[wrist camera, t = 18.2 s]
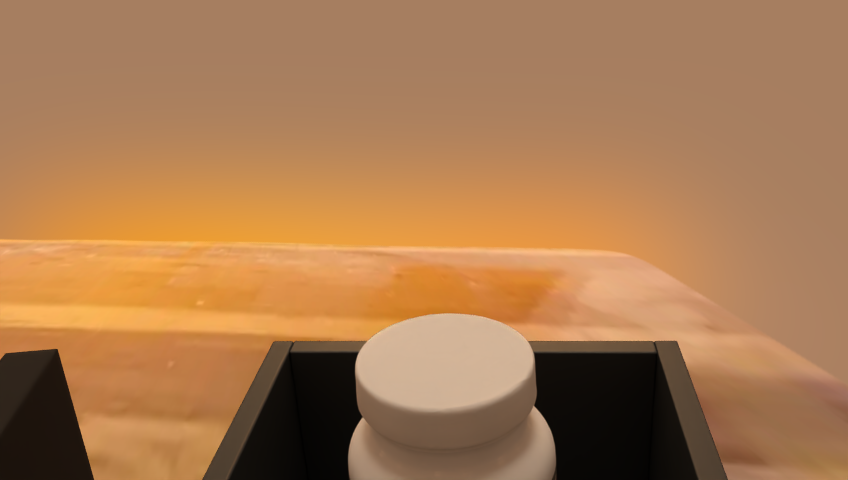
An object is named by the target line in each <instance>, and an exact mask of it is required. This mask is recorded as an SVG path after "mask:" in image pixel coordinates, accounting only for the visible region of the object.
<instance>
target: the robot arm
mask: <svg viewBox="0 0 848 480" xmlns="http://www.w3.org/2000/svg"><path fill="white" fill-rule="evenodd" d="M0 480H94V478H93V474H92V471H91V467H90V464H89V460H88V456H87V453H86V449H85V446H84V442H83V439H82V435H81V431H80V428H79V424H78V421H77V417H76V414H75V410H74V406H73V403H72V399H71V396H70V392H69V389H68V385H67V381H66V378H65V374H64V371H63V367H62V364H61V360H60V356H59V353H58V349H51V350H39V351H28V352H16V353H6V354H5V355H4V356H3V357H2V359H1V360H0Z"/></svg>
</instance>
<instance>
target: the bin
mask: <svg viewBox="0 0 848 480" xmlns="http://www.w3.org/2000/svg"><path fill="white" fill-rule="evenodd" d="M366 342H367V341H295V342H294V343H293V342H292V341H275V342H273V344H272V346H271V348H270V350H269V351H268V353H267V355H266V357H265V359H264V361H263V363H262V365H261V367H260V369H259V371H258V373H257V375H256V377H255V379H254V381H253V382H252V384H251V386H250V388H249V390H248V392H247V394H246V396H245V398H244V400H243V402H242V404H241V406H240V408H239V410H238V412H237V413H236V415H235V417H234V419H233V421H232V423H231V425H230V427H229V429H228V431H227V433H226V435H225V437H224V439H223V441H222V442H221V444H220V446H219V448H218V450H217V452H216V454H215V456H214V458H213V460H212V462H211V464H210V466H209V468H208V470H207V472H206V473H205V475H204V477H203V479H202V480H349V470H348V452H349V446H350V442H351V438H352V436H353V433H354V431H355V429H356V427H357V425H358V424H359V422H360V420H361V419H362V418H363V416H362V415H361V413H360V411H359V408H358V404H357V394H356V377H355V364H356V359H357V356H358V353H359V351H360V350H361V348H362V347H363V345H364V344H365V343H366ZM528 342H529V344H530V346H531V348H532V350H533V353H534V358H535V373H536V388H537V396H536V401H535V404H534V407H535V408H536V409H537V410H538V411H539V412H540V413H541V415H542V416H543V417H544V419H545V420H546V422H547V424H548V426H549V428H550V430H551V433H552V436H553V440H554V444H555V453H556V480H728V479H727V476H726V473H725V471H724V468H723V465H722V463H721V460H720V457H719V454H718V452H717V449H716V446H715V444H714V441H713V438H712V435H711V433H710V430H709V427H708V424H707V422H706V419H705V416H704V414H703V411H702V408H701V405H700V403H699V400H698V397H697V394H696V392H695V389H694V386H693V384H692V381H691V378H690V375H689V373H688V370H687V367H686V364H685V362H684V359H683V356H682V354H681V351H680V348H679V345H678V343H677V341H655V342H653V341H528Z"/></svg>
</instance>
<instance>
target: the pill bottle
mask: <svg viewBox="0 0 848 480" xmlns="http://www.w3.org/2000/svg"><path fill="white" fill-rule="evenodd" d="M355 377H356V394H357V404H358V408H359V411H360V413H361V415H362V416H363V418H362V419H361V420H360V422H359V424H358V425H357V427H356V429H355V431H354V433H353V436H352V438H351V442H350V446H349V452H348V470H349V480H556V453H555V444H554V440H553V436H552V433H551V430H550V428H549V426H548V424H547V422H546V420H545V419H544V417H543V416H542V415H541V413H540V412H539V411H538V410H537V409H536V408H535V407H534V404H535V401H536V396H537V388H536V373H535V358H534V353H533V350H532V348H531V346H530V344H529V342H528V341H527V340H526V339H525V338H524V337H523V335H521V334H520V333H519V332H517V331H516V330H514V329H513V328H512V327H510V326H507V325H505V324H504V323H501V322H499V321H496V320H493V319H489V318H485V317H481V316H475V315H467V314H432V315H425V316H420V317H416V318H411V319H408V320H405V321H402V322H399V323H396V324H393V325H391V326H389V327H387V328H385V329H383V330H381V331H379V332H378V333H376V334H375V335H374V336H372V337H371V338H370V339H369V340H368V341H367V342H366V343H365V344H364V345H363V347H362V348H361V350H360V351H359V353H358V356H357V359H356V364H355Z"/></svg>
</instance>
